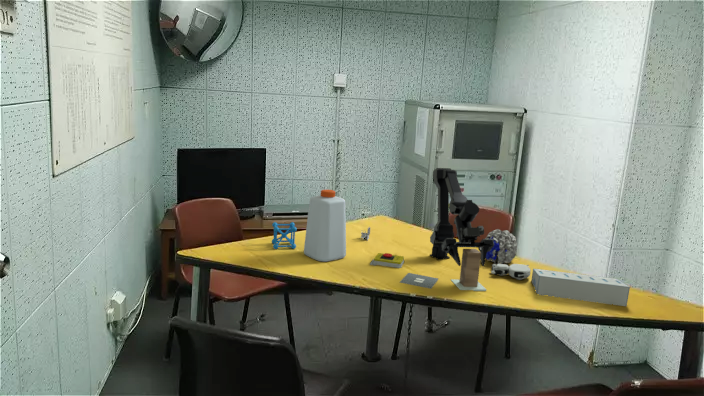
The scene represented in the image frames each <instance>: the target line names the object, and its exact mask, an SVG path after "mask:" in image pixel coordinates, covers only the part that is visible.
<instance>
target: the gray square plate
mask: <svg viewBox="0 0 704 396" xmlns="http://www.w3.org/2000/svg"><path fill="white" fill-rule="evenodd" d="M438 281H439V278H437V277H431V276H428V275H427V276H426V275H422V274H418V273H417V274H416V273H413V272H412V273H411V272H407V274H405V276H404V277H403V278H402V279H401V280H400V281H399V283H401V284H405V285H410V286H415V287H419V288H420V287H421V288H426V289H432V288H433V287H434V286H435V285H436V283H437V282H438Z"/></svg>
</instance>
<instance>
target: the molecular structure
mask: <svg viewBox="0 0 704 396" xmlns="http://www.w3.org/2000/svg"><path fill="white" fill-rule="evenodd" d="M271 226H272V227H273V238H272V240H271V243H272V244H273V245H272V248H273V249H274V250H277V249H279V248H290V249H293V250H294V249H296V248H297V244H296V243H295V241H296V240H295V238H296V237H295V236H296V233H295V232H297V229H298V228H297V227H296V224H295V222H290V223H278V222H276V221H273V223H272V225H271ZM279 226H280V227H281V226H287V227H288V228H282V227H281V228H279ZM283 231H285V232H283ZM278 233H279V234H281V235H280V236H279V237H278ZM288 234H290V238H289V237H288V236H287V235H288ZM284 239H286V240H284ZM280 243H289V244H290V245H285V244H284V245H279V244H280Z"/></svg>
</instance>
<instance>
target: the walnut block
mask: <svg viewBox="0 0 704 396" xmlns="http://www.w3.org/2000/svg"><path fill="white" fill-rule="evenodd" d="M480 266H481V252H480V251H479V249H478V248H462V255H461V265H460V273H459V280H460V281H459V282H460V283H461V284H462V285H463V286H464V287H477V285H478V282H479V277H480V275H479V274H480V268H481V267H480Z"/></svg>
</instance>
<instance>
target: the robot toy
mask: <svg viewBox="0 0 704 396" xmlns="http://www.w3.org/2000/svg"><path fill="white" fill-rule="evenodd" d="M490 269H491V271H490V273H491V274H492V275H496V276H501V277H502V276H508V275H509V276H510V277H511V278H514V279H516V280H517V281H518V280H519V281H522V280H524V279H527V278H529V277H530V276H531V268H530V264H521V263H520V264H519V263H512V264H510V265H508V264H507V263H501V264H499V263H493V264H491V268H490Z"/></svg>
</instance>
